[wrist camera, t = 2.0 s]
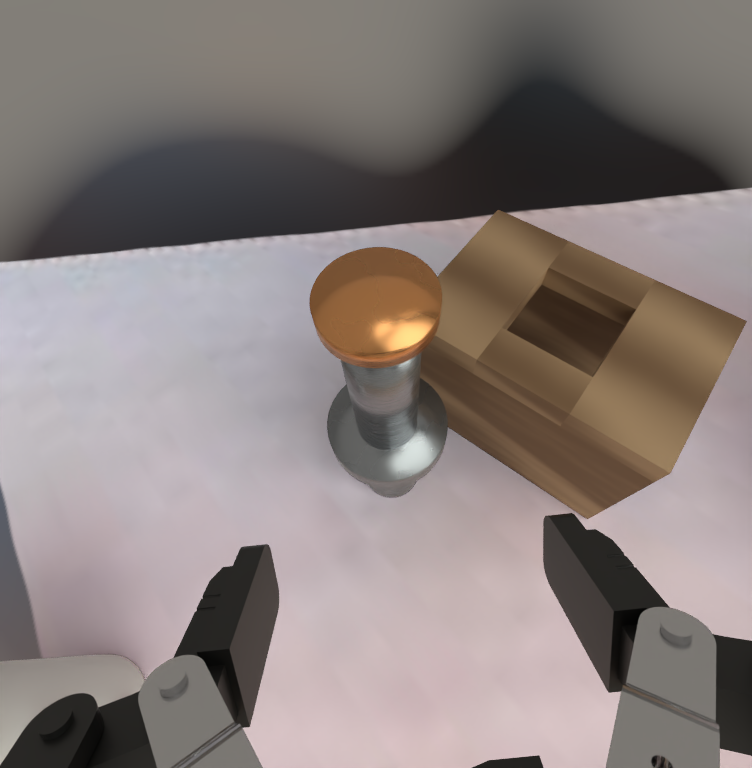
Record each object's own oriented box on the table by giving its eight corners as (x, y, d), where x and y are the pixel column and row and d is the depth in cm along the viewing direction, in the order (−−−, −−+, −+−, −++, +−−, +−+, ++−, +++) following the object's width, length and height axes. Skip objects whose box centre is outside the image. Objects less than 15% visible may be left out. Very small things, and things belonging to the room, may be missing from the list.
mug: (28, 788, 26) (-234, 906, 15) (57, 654, 29) (-142, 674, 18) (199, 773, 26) (55, 881, 15) (210, 640, 29) (97, 652, 18)
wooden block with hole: (475, 309, 40) (498, 209, 30) (651, 404, 35) (746, 321, 25) (403, 397, 36) (402, 315, 27) (587, 519, 31) (670, 473, 21)
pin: (383, 413, 36) (361, 201, 18) (454, 462, 33) (512, 277, 15) (328, 479, 33) (237, 314, 15) (401, 537, 31) (394, 423, 13)
